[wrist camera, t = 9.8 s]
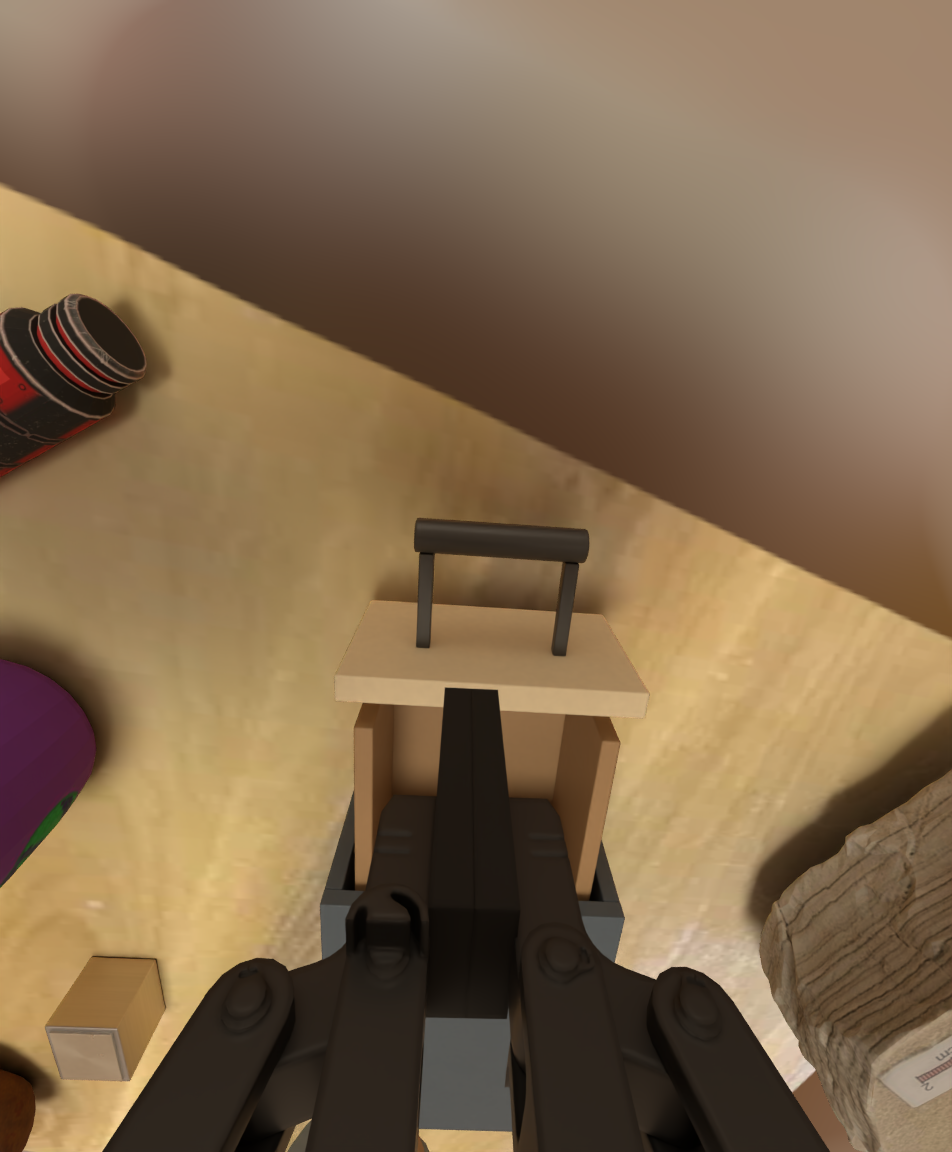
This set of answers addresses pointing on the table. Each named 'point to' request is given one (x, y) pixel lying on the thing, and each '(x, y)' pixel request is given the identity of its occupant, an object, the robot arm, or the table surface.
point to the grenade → (60, 373)
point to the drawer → (491, 661)
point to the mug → (37, 760)
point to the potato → (15, 1112)
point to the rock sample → (875, 975)
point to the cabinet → (463, 1045)
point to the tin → (106, 1019)
